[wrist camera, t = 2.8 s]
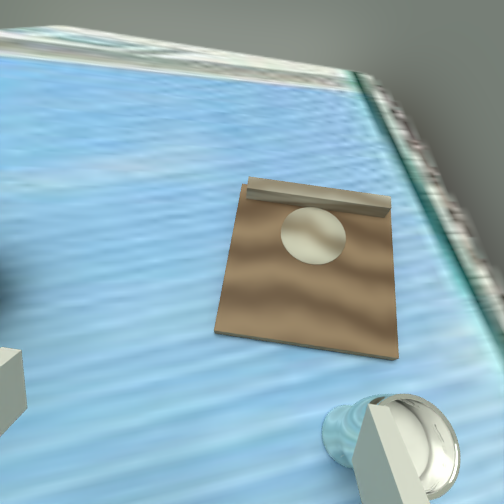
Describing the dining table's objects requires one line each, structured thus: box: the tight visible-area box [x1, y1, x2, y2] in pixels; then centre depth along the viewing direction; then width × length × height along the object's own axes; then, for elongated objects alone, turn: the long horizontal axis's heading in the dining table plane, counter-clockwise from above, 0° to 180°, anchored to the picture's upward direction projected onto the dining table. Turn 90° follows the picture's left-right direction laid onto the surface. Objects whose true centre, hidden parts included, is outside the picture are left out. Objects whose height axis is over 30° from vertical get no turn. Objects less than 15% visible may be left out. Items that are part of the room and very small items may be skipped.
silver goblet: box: [322, 394, 460, 500], centre depth 30 cm, size 7×7×15 cm
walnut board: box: [214, 177, 399, 360], centre depth 44 cm, size 22×22×4 cm
